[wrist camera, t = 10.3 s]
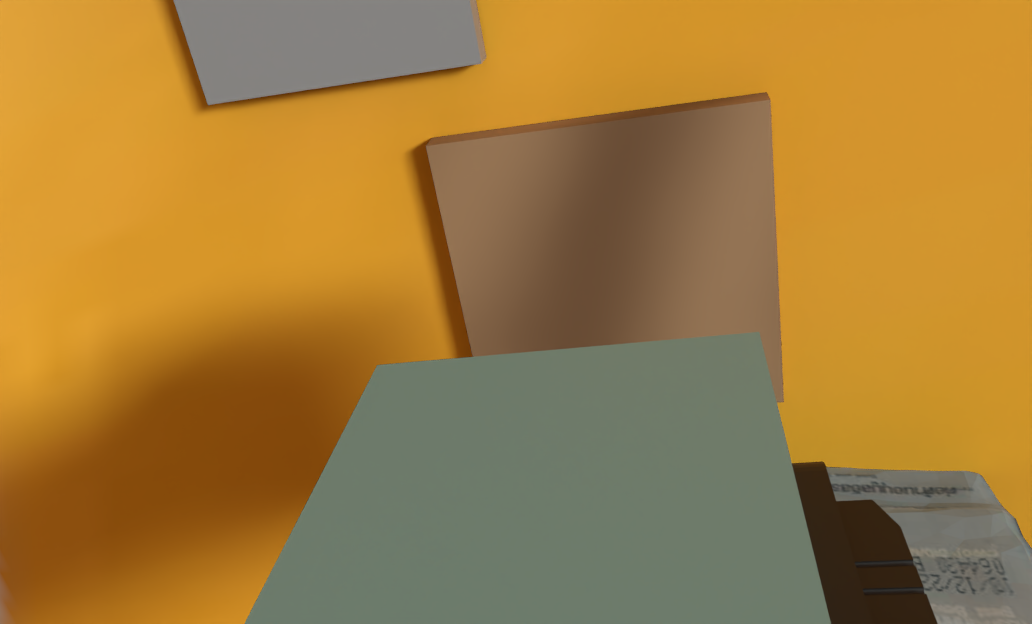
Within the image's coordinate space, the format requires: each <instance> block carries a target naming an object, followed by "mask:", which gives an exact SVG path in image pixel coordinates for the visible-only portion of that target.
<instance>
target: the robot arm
mask: <svg viewBox="0 0 1032 624" xmlns="http://www.w3.org/2000/svg"><path fill="white" fill-rule="evenodd" d="M792 467H793V471H794V475H795V479H796V483H797V487H798V491H799V495H800V499H801V504H802V508H803V512H804V516H805V520H806V524H807V528H808V532H809V536H810V540H811V544H812V548H813V552H814V556H815V560H816V565H817V569H818V573H819V577H820V581H821V585H822V589H823V593H824V597H825V601H826V605H827V609H828V613H829V617H830V621H831V624H938V623H937V620H936V618H935V615H934V613H933V610H932V607H931V605H930V602H929V600H928V597H927V594H925V593H924V587H923V584H922V581H921V579H920V576H919V574H918V571H917V568H916V566H914V563H913V558H912V555H911V553H910V550H909V547H908V545H907V542H906V540H905V537H904V534H903V532H902V529H901V527H900V526H899V525H898V524H897V523H896V522H895V521H894V520H893V519H892V518H891V517H890V516H889V515H888V514H887V513H886V512H885V511H884V510H883V509H882V508H881V507H880V506H879V505H877V504H876V503H875V502H874V501H873V500H852V501H836V499H835V495H834V492H833V489H832V485H831V482H830V479H829V475H828V472H827V469H826V466H825V464H824V462H808V463H792Z"/></svg>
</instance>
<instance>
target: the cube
mask: <svg viewBox="0 0 1032 624" xmlns="http://www.w3.org/2000/svg"><path fill="white" fill-rule="evenodd" d="M245 624H831V621H830V617H829V613H828V609H827V605H826V601H825V597H824V593H823V589H822V585H821V581H820V577H819V573H818V569H817V565H816V560H815V556H814V552H813V548H812V544H811V540H810V536H809V532H808V528H807V524H806V520H805V516H804V512H803V508H802V504H801V499H800V495H799V491H798V487H797V483H796V479H795V475H794V471H793V467H792V463H791V459H790V455H789V451H788V447H787V442H786V438H785V434H784V430H783V426H782V422H781V418H780V414H779V410H778V406H777V402H776V398H775V394H774V390H773V386H772V381H771V377H770V373H769V369H768V365H767V361H766V357H765V353H764V349H763V345H762V341H761V337H760V333H759V332H752V333H741V334H729V335H718V336H706V337H695V338H683V339H672V340H660V341H649V342H637V343H626V344H614V345H603V346H591V347H580V348H568V349H557V350H545V351H534V352H522V353H511V354H499V355H488V356H477V357H465V358H454V359H442V360H431V361H419V362H408V363H396V364H385V365H377V367H376V369H375V371H374V373H373V375H372V376H371V378H370V380H369V382H368V384H367V386H366V388H365V390H364V392H363V394H362V396H361V398H360V400H359V402H358V404H357V406H356V408H355V410H354V412H353V413H352V415H351V417H350V419H349V421H348V423H347V425H346V427H345V429H344V431H343V433H342V435H341V437H340V439H339V441H338V443H337V445H336V447H335V449H334V450H333V452H332V454H331V456H330V458H329V460H328V462H327V464H326V466H325V468H324V470H323V472H322V474H321V476H320V478H319V480H318V482H317V484H316V486H315V487H314V489H313V491H312V493H311V495H310V497H309V499H308V501H307V503H306V505H305V507H304V509H303V511H302V513H301V515H300V517H299V519H298V521H297V522H296V524H295V526H294V528H293V530H292V532H291V534H290V536H289V538H288V540H287V542H286V544H285V546H284V548H283V550H282V552H281V554H280V556H279V558H278V559H277V561H276V563H275V565H274V567H273V569H272V571H271V573H270V575H269V577H268V579H267V581H266V583H265V585H264V587H263V589H262V591H261V593H260V595H259V596H258V598H257V600H256V602H255V604H254V606H253V608H252V610H251V612H250V614H249V616H248V618H247V620H246V622H245Z"/></svg>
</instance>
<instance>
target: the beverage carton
mask: <svg viewBox="0 0 1032 624" xmlns="http://www.w3.org/2000/svg"><path fill="white" fill-rule="evenodd" d="M826 469H827V472H828V475H829V479H830V482H831V485H832V489H833V492H834V495H835V499H836V501H852V500H873V501H874V502H875V503H876V504H877V505H879V506H880V507H881V508H882V509H883V510H884V511H885V512H886V513H887V514H888V515H889V516H890V517H891V518H892V519H893V520H894V521H895V522H896V523H897V524H898V525H899V526H900V527H901V529H902V532H903V534H904V537H905V540H906V542H907V545H908V547H909V550H910V553H911V555H912V558H913V563H914V566H916V568H917V571H918V574H919V576H920V579H921V581H922V584H923V587H924V593H925V594H927V597H928V600H929V602H930V605H931V607H932V610H933V613H934V615H935V618H936V620H937V623H938V624H1032V548H1031V547H1030V546H1029V544H1028V543H1027V542H1026V540H1025V539H1024V538H1023V536H1022V533H1021V531H1020V528H1019V526H1018V524H1017V521H1016V519H1015V518H1014V517H1013V516H1012V515H1011V514H1010V513H1009V512H1008V511H1007V510H1006V509H1005V508H1004V507H1003V506H1002V505H1001V504H1000V503H999V501H998V500H997V498H996V497H995V495H994V494H993V492H992V490H991V489H990V487H989V486H988V484H987V483H986V481H985V480H984V478H983V477H982V476H981V475H979V474H977V473H974V472H969V471H919V470H877V469H857V468H839V467H826Z"/></svg>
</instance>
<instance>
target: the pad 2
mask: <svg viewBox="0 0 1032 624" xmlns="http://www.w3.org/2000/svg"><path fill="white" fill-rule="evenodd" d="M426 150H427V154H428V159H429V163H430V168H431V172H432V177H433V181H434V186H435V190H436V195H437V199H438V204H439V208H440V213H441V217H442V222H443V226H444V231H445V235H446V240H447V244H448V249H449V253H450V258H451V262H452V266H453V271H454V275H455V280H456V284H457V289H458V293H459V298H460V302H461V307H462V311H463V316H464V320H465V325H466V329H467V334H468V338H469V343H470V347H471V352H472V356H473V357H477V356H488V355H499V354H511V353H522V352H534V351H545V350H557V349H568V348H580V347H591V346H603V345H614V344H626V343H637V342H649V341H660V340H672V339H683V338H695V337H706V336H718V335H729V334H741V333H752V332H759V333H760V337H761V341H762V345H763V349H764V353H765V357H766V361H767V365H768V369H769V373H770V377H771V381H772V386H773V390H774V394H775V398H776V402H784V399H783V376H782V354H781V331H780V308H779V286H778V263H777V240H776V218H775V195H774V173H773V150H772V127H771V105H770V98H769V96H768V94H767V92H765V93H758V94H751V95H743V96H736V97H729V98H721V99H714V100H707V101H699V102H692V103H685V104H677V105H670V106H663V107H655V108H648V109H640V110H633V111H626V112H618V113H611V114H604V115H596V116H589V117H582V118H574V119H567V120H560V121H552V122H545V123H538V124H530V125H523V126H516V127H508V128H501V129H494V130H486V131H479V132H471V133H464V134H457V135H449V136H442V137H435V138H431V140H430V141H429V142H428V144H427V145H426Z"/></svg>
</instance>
